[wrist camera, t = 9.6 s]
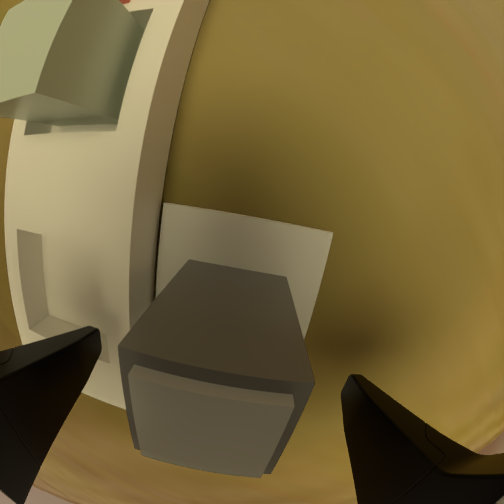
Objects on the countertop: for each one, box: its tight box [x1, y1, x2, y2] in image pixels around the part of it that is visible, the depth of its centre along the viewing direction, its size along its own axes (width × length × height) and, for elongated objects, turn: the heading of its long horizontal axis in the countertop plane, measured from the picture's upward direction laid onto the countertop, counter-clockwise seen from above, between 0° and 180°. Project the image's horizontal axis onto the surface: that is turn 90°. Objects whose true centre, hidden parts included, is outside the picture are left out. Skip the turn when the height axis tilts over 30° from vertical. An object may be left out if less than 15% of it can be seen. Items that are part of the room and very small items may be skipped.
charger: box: [118, 259, 315, 478], centre depth 9 cm, size 4×4×7 cm
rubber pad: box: [156, 202, 333, 339], centre depth 13 cm, size 8×9×1 cm
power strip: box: [4, 0, 210, 410], centre depth 10 cm, size 22×8×4 cm, turn 170°
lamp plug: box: [0, 0, 145, 126], centre depth 6 cm, size 4×4×6 cm
